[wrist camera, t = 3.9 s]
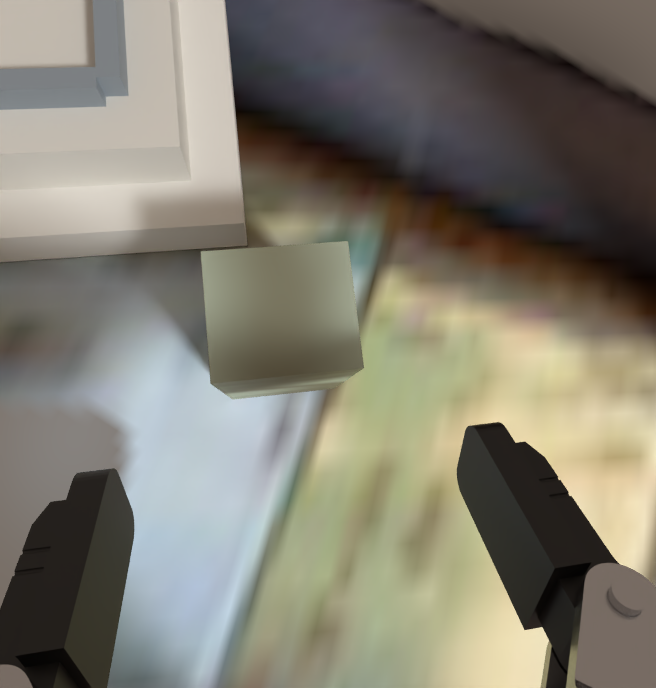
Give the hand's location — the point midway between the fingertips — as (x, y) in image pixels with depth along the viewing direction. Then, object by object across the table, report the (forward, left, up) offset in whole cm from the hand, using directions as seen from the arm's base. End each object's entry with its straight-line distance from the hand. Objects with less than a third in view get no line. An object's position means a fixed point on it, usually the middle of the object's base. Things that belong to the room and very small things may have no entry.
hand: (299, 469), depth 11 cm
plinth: (+9, -17, -10) cm, 22 cm away
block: (0, -4, -10) cm, 11 cm away
